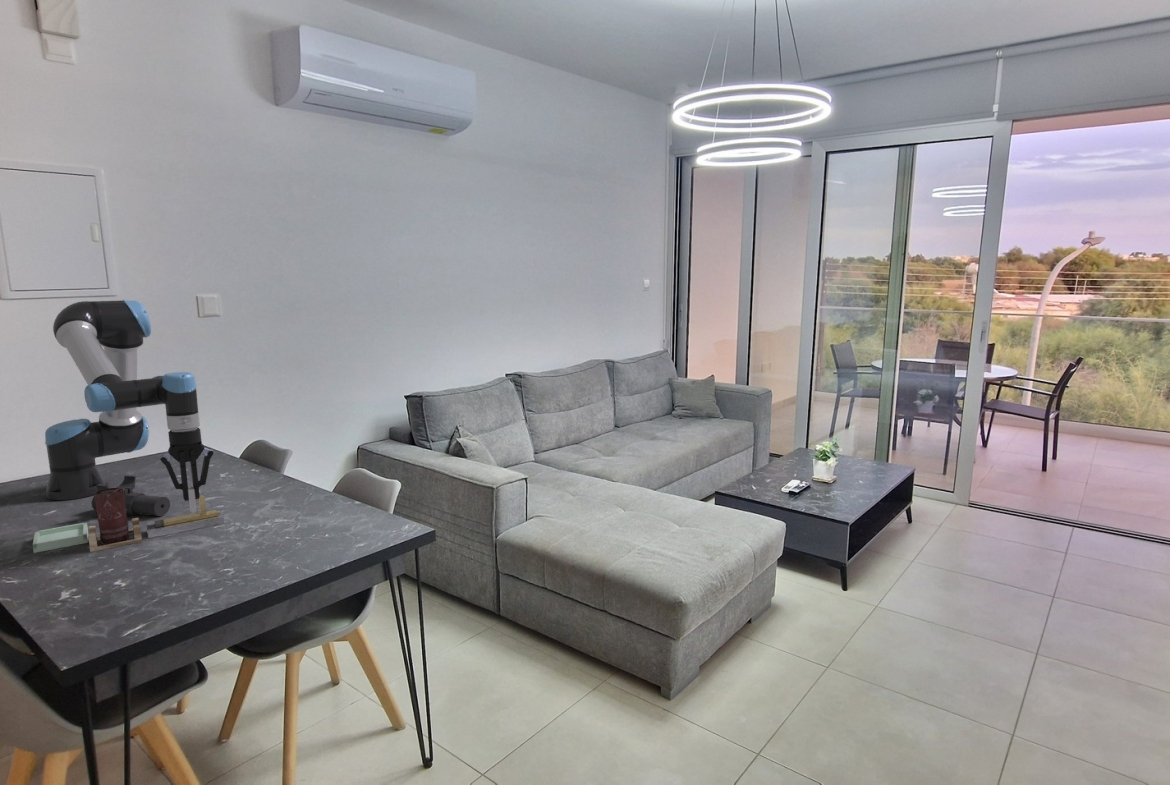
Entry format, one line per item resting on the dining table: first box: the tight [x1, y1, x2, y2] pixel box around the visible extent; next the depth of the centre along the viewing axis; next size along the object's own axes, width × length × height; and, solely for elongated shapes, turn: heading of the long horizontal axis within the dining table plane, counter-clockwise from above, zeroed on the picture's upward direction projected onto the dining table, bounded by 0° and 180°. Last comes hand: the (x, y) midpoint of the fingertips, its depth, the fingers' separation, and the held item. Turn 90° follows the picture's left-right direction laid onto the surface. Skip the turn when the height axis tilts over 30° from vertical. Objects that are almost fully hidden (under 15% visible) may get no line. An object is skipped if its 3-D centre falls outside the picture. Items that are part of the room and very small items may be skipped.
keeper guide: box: [145, 510, 225, 539], centre depth 182 cm, size 6×18×2 cm, turn 127°
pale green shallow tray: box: [32, 521, 89, 554], centre depth 173 cm, size 11×11×2 cm
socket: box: [88, 517, 143, 553], centre depth 172 cm, size 10×11×4 cm
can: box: [94, 487, 130, 545], centre depth 172 cm, size 6×6×14 cm
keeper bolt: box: [154, 494, 218, 528], centre depth 182 cm, size 3×15×8 cm, turn 127°
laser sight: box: [91, 475, 171, 517], centre depth 192 cm, size 10×22×10 cm, turn 79°
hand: (193, 510), depth 183 cm, fingers closed
